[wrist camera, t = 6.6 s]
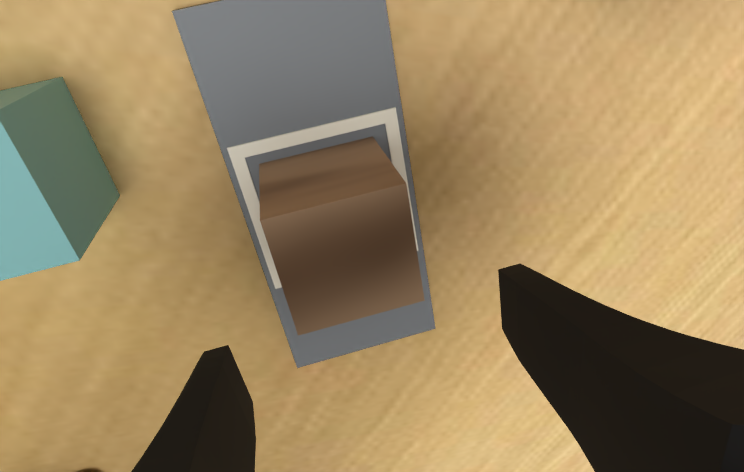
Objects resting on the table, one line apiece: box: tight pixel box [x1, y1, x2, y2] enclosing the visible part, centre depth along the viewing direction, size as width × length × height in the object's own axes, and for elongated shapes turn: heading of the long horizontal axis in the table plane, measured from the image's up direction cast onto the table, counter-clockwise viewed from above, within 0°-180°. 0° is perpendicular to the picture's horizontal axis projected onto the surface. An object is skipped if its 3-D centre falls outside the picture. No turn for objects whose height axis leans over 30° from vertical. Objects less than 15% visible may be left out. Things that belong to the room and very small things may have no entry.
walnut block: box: [259, 136, 425, 336], centre depth 18 cm, size 4×4×5 cm
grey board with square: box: [172, 0, 435, 368], centre depth 20 cm, size 16×7×1 cm, turn 10°
